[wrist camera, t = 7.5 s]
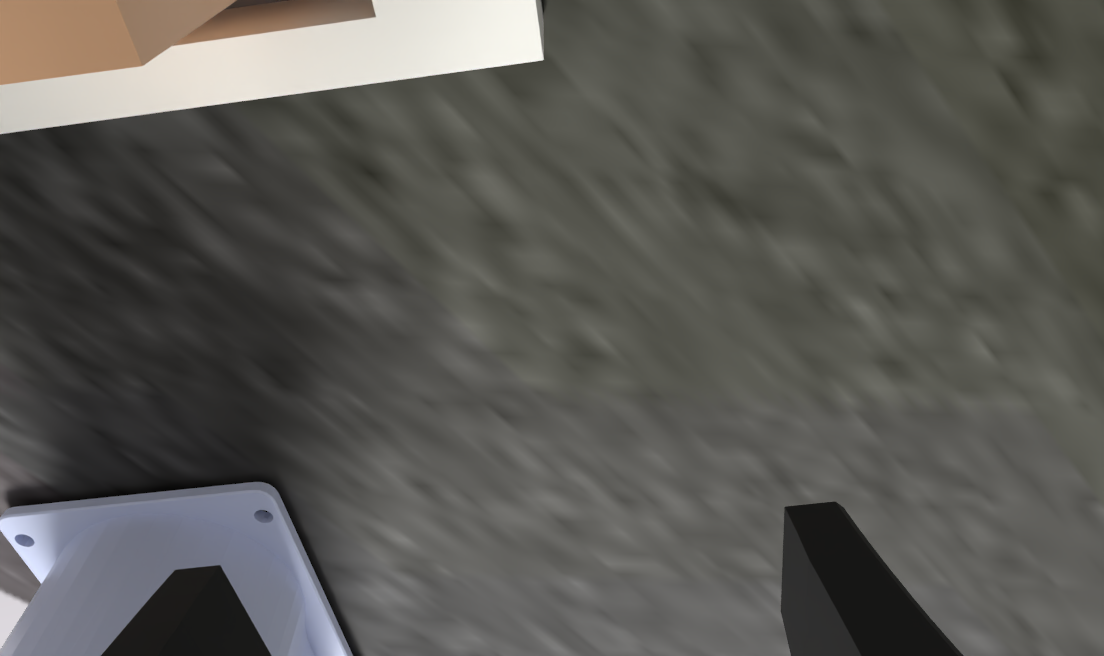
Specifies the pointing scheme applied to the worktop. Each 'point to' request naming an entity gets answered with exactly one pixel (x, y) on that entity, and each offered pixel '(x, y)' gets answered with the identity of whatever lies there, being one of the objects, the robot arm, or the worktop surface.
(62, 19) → the plug
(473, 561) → the worktop surface
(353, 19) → the white compartment tray
